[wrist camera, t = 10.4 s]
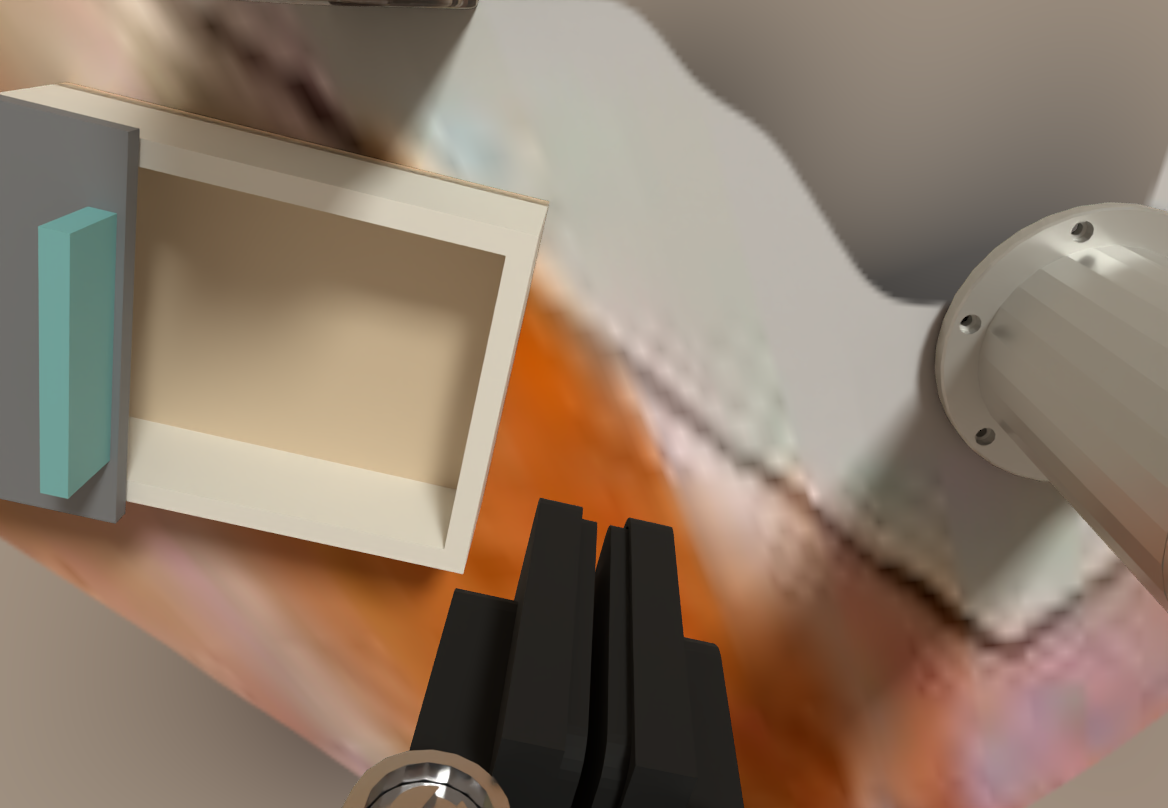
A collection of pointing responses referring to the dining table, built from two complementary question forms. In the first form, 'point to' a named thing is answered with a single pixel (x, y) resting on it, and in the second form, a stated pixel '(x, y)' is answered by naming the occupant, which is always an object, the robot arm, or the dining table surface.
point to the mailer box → (315, 333)
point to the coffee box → (386, 3)
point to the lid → (66, 307)
